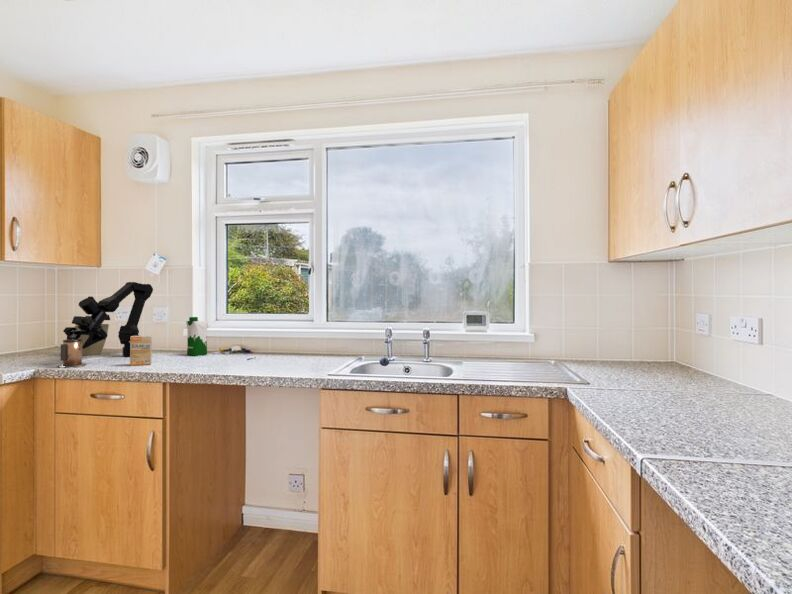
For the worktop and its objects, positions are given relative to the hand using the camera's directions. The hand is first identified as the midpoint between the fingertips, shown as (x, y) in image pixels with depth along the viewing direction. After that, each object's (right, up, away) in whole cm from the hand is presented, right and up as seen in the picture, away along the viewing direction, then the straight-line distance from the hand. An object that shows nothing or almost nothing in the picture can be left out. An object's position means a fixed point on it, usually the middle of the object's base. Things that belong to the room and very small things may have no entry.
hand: (74, 347), depth 193 cm
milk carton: (+39, -8, +35) cm, 53 cm away
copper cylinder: (0, -7, -1) cm, 7 cm away
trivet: (0, -8, -1) cm, 8 cm away
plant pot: (-18, -8, +37) cm, 42 cm away
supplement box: (+28, -8, +3) cm, 29 cm away
